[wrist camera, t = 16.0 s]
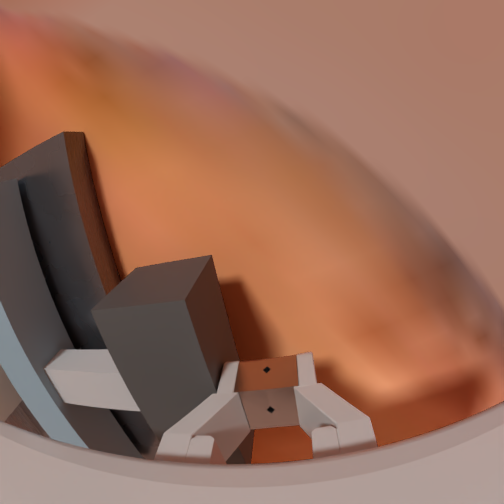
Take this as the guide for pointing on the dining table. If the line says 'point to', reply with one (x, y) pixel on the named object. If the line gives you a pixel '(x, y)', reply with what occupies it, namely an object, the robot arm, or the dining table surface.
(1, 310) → the vise jaw
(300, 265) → the dining table surface
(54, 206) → the vise bed
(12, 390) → the block
